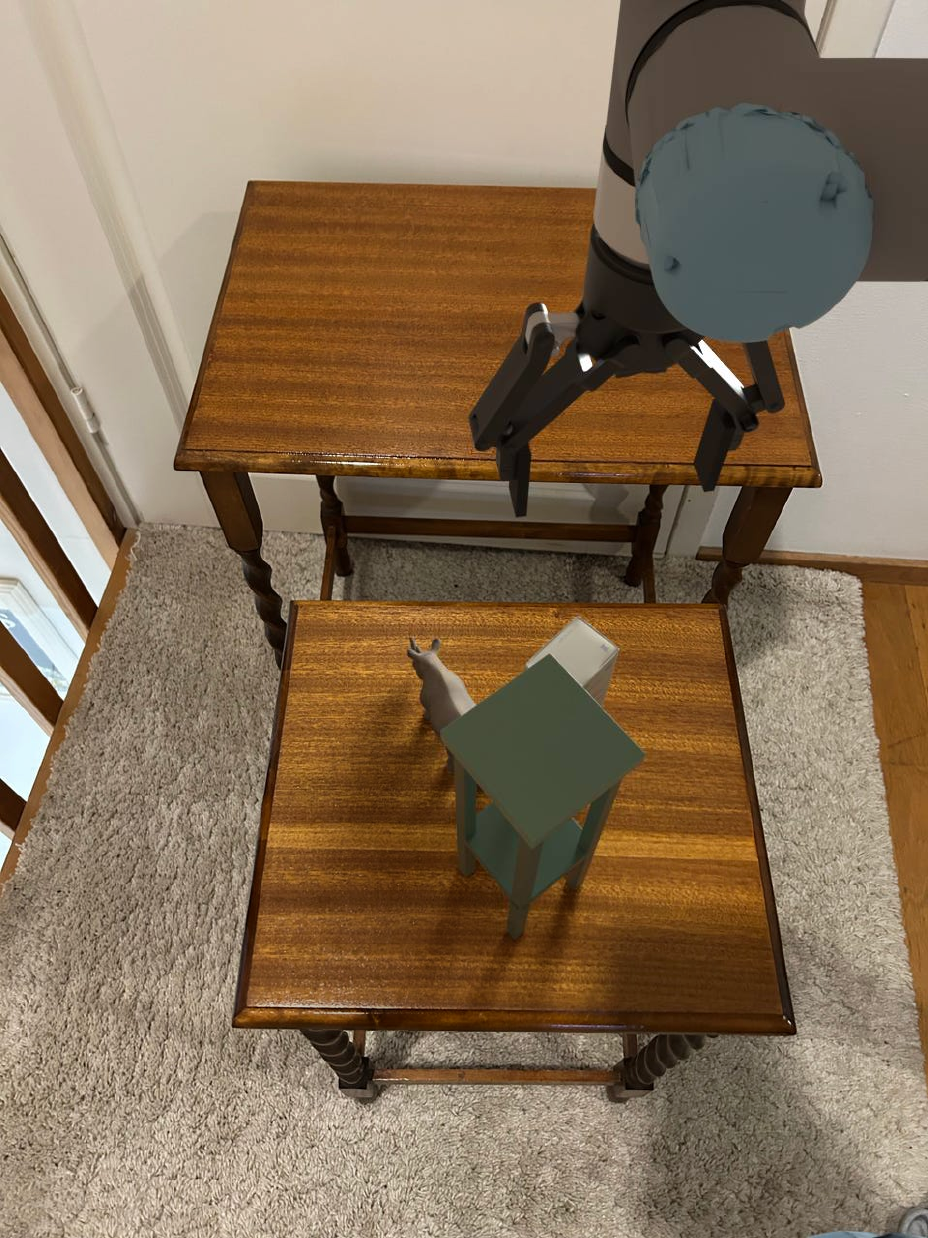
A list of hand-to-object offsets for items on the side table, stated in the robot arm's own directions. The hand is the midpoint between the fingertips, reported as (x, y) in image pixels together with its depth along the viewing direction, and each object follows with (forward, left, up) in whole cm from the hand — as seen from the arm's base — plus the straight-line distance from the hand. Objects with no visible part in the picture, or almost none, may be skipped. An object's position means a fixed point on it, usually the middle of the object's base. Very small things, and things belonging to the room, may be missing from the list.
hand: (611, 489), depth 67 cm
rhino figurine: (+1, +14, -21) cm, 26 cm away
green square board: (-13, +18, +4) cm, 23 cm away
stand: (-13, +18, -21) cm, 31 cm away
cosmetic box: (-5, +7, -21) cm, 23 cm away
